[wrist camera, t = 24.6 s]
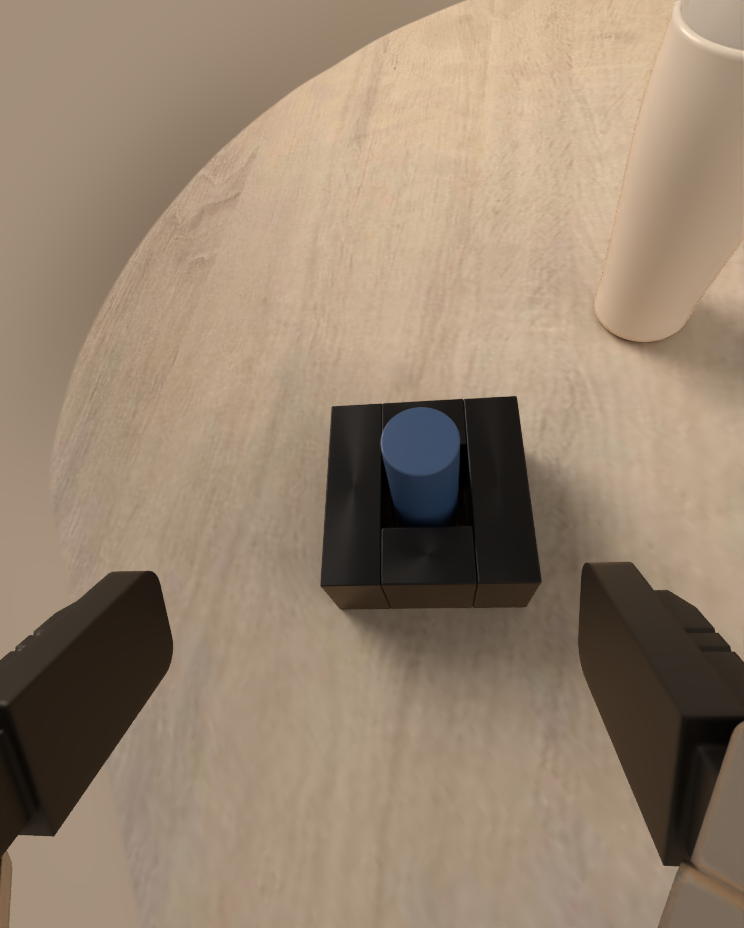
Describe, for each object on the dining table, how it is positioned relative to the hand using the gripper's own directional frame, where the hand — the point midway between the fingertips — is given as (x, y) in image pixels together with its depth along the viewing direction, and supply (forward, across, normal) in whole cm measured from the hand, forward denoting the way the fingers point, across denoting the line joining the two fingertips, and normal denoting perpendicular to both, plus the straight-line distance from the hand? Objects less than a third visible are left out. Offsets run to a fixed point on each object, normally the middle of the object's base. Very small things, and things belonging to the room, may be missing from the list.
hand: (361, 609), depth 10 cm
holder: (+16, -1, +6) cm, 17 cm away
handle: (+16, -1, +6) cm, 17 cm away
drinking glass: (+26, -14, -4) cm, 30 cm away
